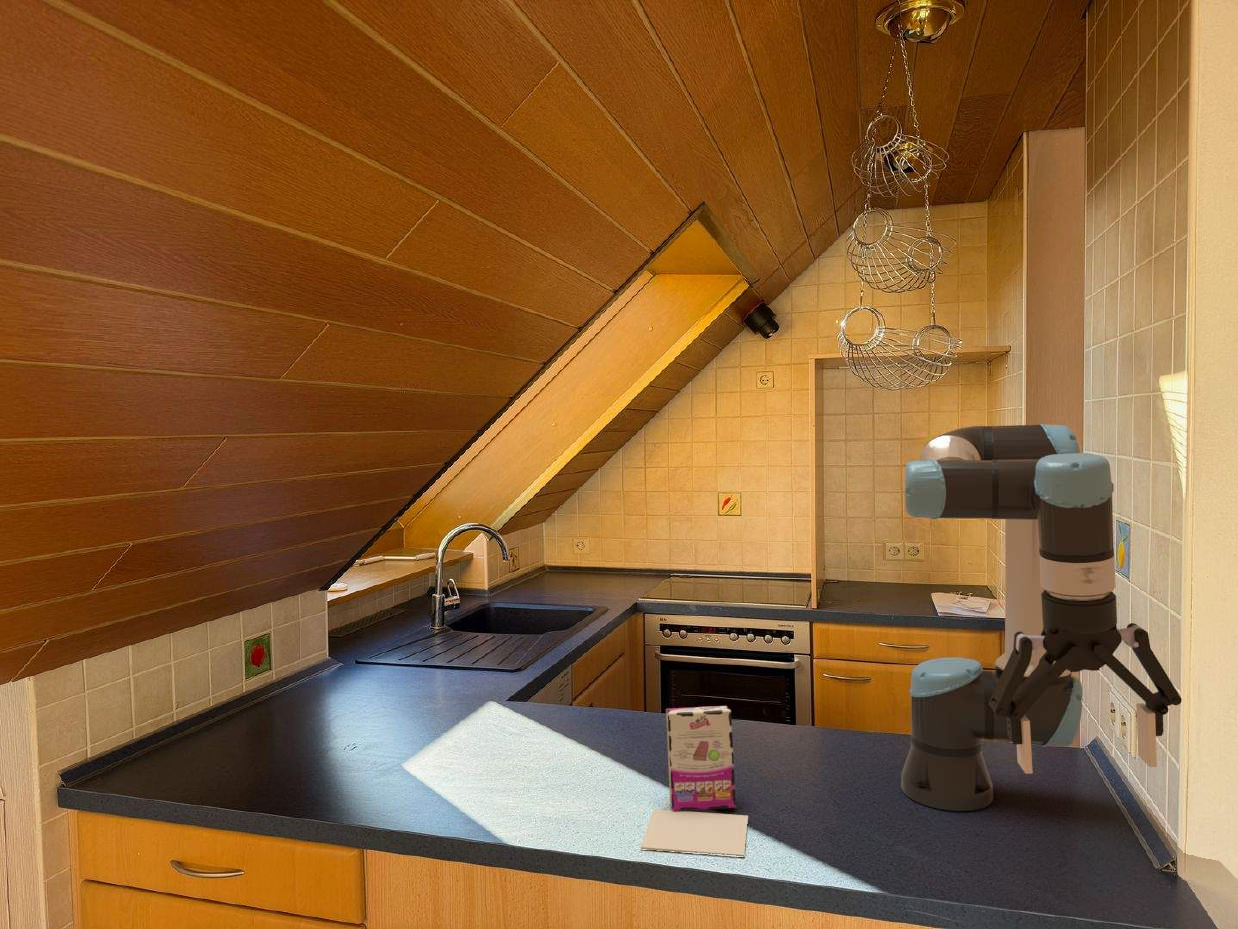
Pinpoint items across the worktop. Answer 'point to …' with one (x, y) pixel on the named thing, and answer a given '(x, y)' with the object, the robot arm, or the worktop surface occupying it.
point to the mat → (696, 832)
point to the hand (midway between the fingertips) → (1085, 765)
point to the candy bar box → (700, 758)
